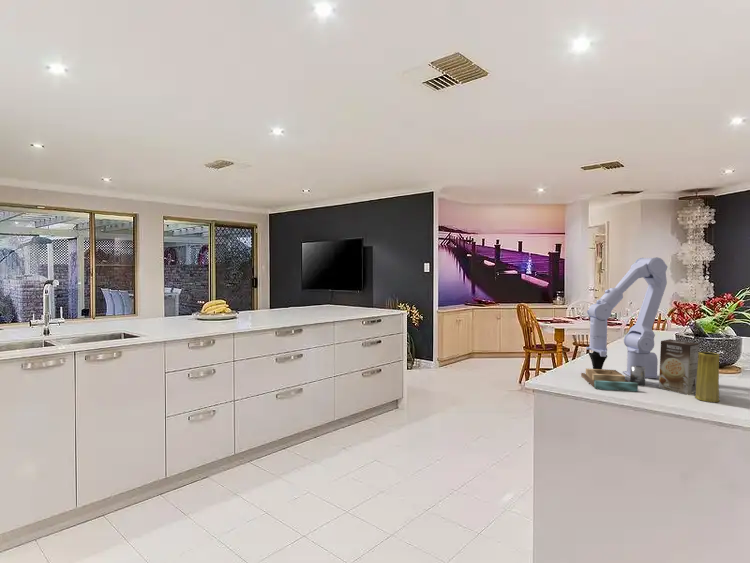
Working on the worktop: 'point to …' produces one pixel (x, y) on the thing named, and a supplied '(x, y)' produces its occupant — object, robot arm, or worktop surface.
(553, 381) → the worktop surface
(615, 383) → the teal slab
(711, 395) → the vase
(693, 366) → the coffee box
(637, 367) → the cylinder
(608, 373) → the wooden tray
